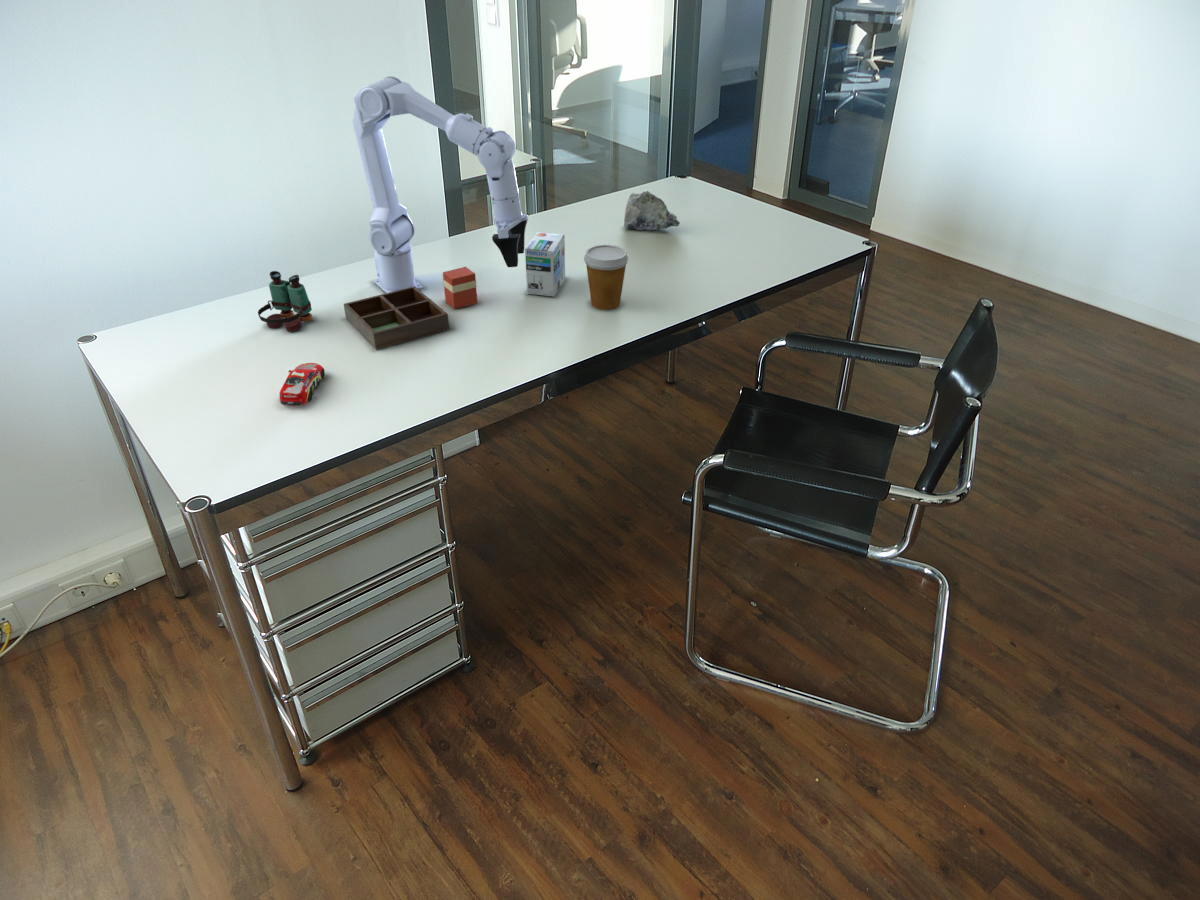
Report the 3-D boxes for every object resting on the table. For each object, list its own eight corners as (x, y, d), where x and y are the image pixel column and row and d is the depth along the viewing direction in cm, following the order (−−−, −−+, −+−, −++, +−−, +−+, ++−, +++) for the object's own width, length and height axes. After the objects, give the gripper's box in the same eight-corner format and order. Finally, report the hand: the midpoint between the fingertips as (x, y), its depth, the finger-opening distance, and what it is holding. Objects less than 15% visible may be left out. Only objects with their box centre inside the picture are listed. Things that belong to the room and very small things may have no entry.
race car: (301, 371, 163) (297, 353, 161) (329, 372, 163) (325, 354, 160) (276, 408, 152) (271, 389, 150) (306, 409, 152) (301, 390, 150)
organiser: (346, 319, 181) (343, 303, 179) (416, 301, 188) (414, 286, 186) (376, 350, 170) (373, 334, 168) (449, 329, 178) (447, 313, 175)
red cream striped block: (445, 301, 188) (442, 272, 184) (468, 295, 191) (465, 266, 187) (454, 309, 185) (451, 279, 181) (477, 303, 188) (475, 273, 184)
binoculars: (242, 289, 170) (272, 265, 177) (257, 334, 176) (286, 309, 184) (280, 296, 167) (309, 271, 174) (294, 341, 174) (322, 316, 181)
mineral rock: (681, 231, 224) (684, 193, 218) (652, 242, 218) (654, 203, 212) (646, 218, 231) (648, 181, 226) (617, 227, 225) (618, 190, 220)
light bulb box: (554, 297, 191) (554, 251, 184) (525, 294, 192) (523, 248, 185) (566, 278, 199) (565, 233, 193) (538, 275, 200) (536, 231, 194)
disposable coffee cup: (633, 299, 190) (635, 248, 183) (616, 317, 183) (617, 264, 176) (595, 291, 193) (595, 240, 186) (576, 308, 186) (576, 256, 179)
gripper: (517, 205, 167) (528, 271, 175) (529, 183, 179) (539, 246, 187) (482, 208, 168) (495, 273, 176) (497, 186, 180) (508, 248, 188)
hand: (515, 259), depth 181 cm, fingers open, 7 cm apart
